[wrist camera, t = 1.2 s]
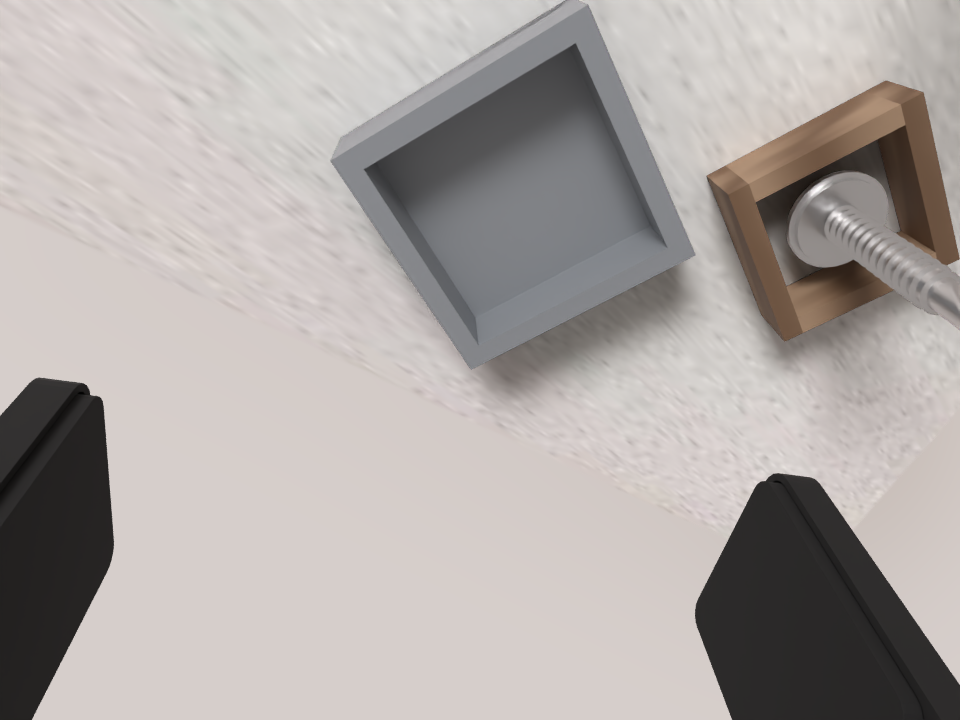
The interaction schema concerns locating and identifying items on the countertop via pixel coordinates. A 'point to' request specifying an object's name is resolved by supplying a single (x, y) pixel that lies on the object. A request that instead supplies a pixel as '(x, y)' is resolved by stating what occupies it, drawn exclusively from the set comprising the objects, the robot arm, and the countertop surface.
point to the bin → (517, 186)
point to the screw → (868, 241)
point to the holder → (809, 148)
